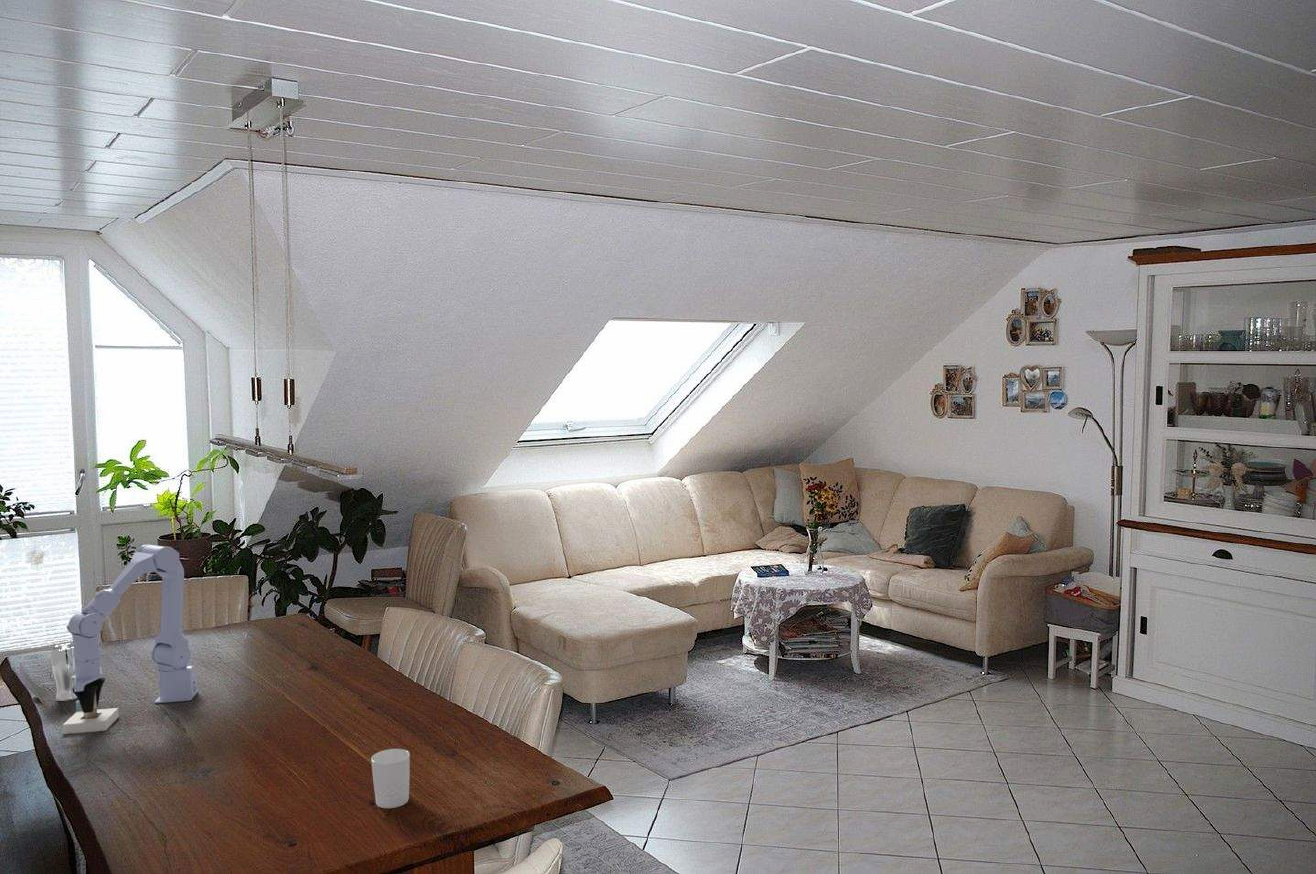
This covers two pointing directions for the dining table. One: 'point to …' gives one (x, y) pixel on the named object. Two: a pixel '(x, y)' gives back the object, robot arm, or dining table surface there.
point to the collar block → (91, 721)
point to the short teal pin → (78, 706)
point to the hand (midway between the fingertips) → (90, 709)
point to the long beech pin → (92, 714)
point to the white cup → (391, 777)
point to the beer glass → (63, 671)
